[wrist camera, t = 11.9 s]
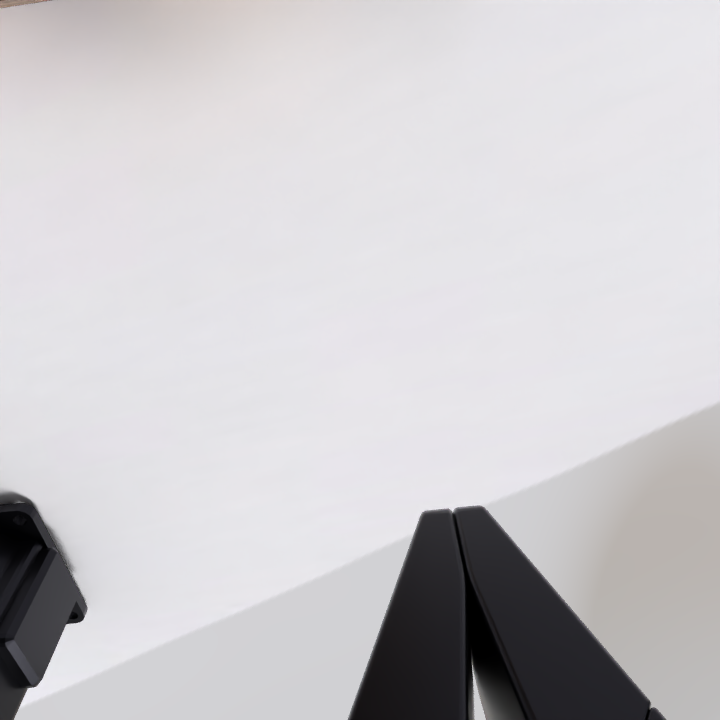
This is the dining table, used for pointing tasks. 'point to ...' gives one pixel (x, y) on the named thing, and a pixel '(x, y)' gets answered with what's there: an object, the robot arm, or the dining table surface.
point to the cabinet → (17, 2)
